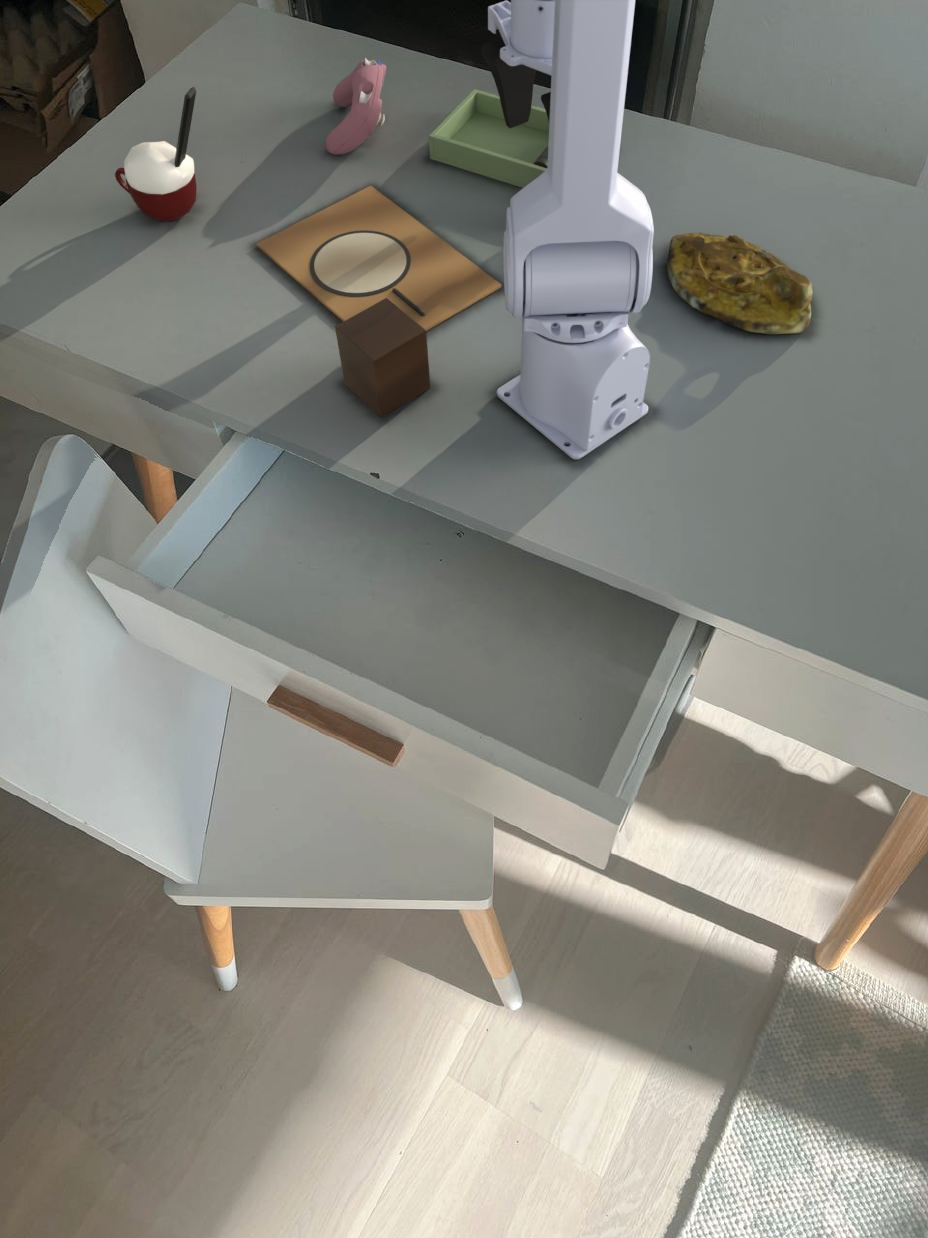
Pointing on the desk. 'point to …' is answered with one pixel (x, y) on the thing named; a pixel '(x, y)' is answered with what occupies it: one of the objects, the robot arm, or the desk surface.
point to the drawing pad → (377, 261)
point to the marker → (542, 159)
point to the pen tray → (491, 140)
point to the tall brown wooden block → (384, 356)
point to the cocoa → (162, 173)
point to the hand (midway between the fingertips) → (540, 143)
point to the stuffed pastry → (739, 283)
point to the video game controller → (358, 107)
